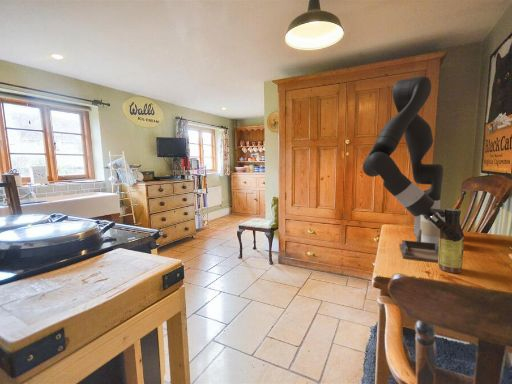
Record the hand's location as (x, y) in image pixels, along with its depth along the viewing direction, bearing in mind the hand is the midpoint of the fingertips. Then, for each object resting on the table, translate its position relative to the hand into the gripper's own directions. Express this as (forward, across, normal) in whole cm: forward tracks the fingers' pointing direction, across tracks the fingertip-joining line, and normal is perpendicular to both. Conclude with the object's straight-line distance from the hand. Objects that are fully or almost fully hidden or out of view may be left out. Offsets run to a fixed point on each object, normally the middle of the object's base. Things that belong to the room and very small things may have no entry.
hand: (453, 236), depth 79 cm
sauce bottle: (+8, 0, +8) cm, 12 cm away
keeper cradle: (+3, +11, +13) cm, 17 cm away
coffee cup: (+8, +27, +8) cm, 29 cm away
